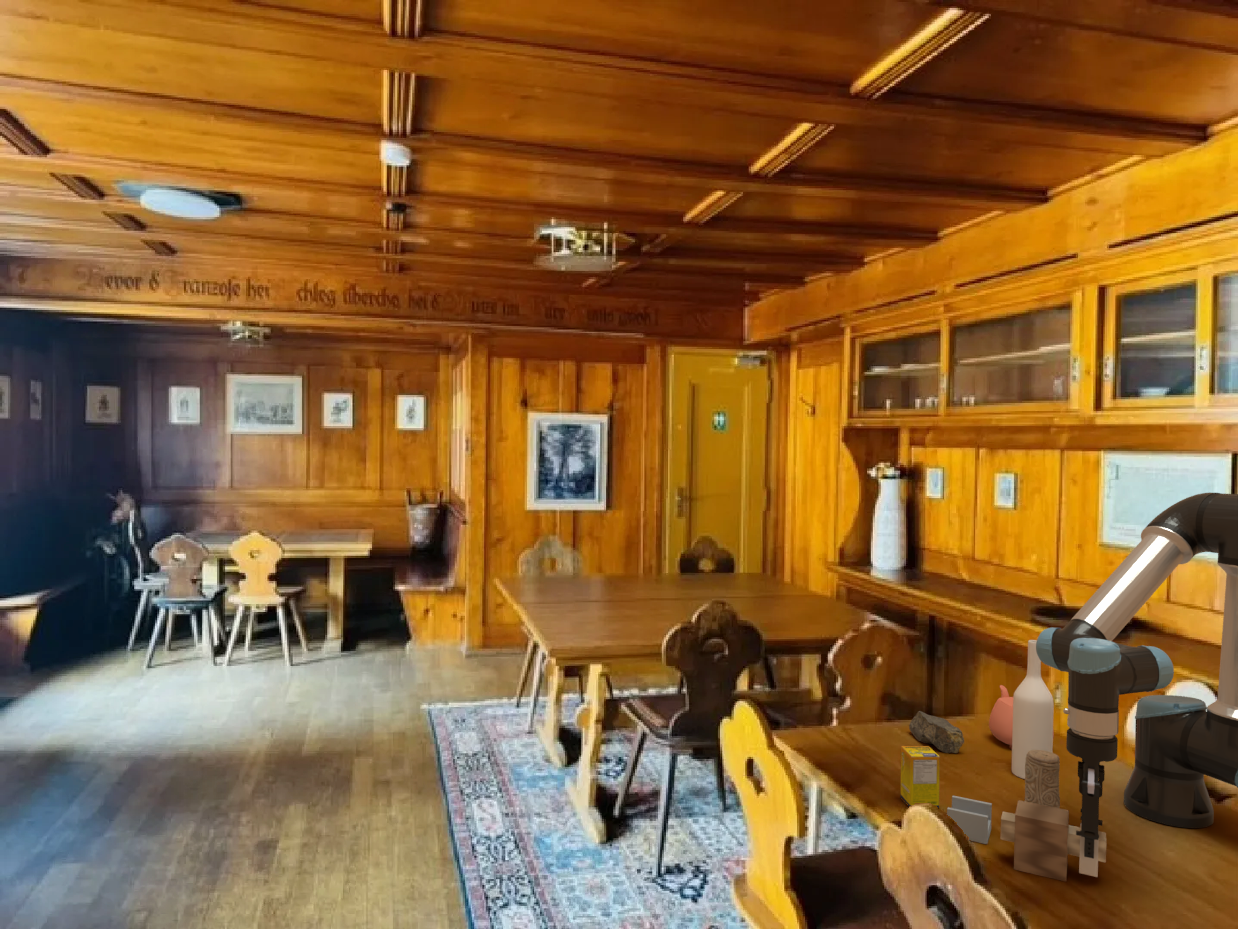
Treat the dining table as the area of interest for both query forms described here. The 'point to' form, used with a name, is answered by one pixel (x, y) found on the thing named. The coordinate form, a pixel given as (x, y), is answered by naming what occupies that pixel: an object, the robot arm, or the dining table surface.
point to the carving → (1042, 778)
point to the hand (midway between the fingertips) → (1088, 868)
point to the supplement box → (919, 775)
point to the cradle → (972, 817)
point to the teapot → (1003, 718)
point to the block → (1041, 840)
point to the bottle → (1031, 714)
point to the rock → (936, 732)
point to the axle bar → (1072, 840)
